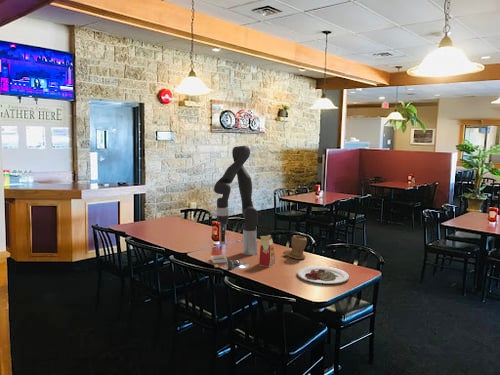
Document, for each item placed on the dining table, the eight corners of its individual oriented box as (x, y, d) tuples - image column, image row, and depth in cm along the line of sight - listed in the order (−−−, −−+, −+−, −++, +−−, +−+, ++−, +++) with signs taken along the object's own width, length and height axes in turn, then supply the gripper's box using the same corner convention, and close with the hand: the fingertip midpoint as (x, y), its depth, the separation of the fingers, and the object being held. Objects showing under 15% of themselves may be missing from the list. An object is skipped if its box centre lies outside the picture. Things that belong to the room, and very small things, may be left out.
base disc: (245, 261, 267) (245, 259, 267) (252, 269, 252) (252, 266, 252) (212, 263, 261) (212, 261, 261) (217, 271, 246) (217, 269, 246)
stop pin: (224, 241, 264) (224, 229, 263) (226, 243, 260) (226, 230, 259) (218, 242, 263) (218, 229, 262) (220, 243, 259) (220, 231, 258)
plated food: (358, 277, 240) (359, 272, 240) (329, 290, 220) (329, 284, 219) (317, 265, 262) (317, 260, 261) (286, 276, 241) (286, 270, 241)
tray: (224, 258, 272) (224, 255, 272) (227, 263, 263) (227, 259, 263) (210, 259, 270) (210, 256, 269) (213, 264, 261) (213, 260, 260)
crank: (235, 263, 260) (235, 255, 259) (241, 264, 258) (241, 256, 258) (225, 269, 249) (225, 260, 248) (232, 270, 247) (232, 261, 246)
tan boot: (309, 258, 276) (310, 236, 274) (297, 261, 269) (297, 239, 267) (294, 253, 288) (295, 232, 286) (281, 255, 281) (282, 234, 279)
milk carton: (275, 264, 263) (276, 233, 260) (270, 268, 254) (270, 236, 252) (262, 262, 267) (263, 232, 264) (256, 266, 258) (257, 235, 256)
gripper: (215, 212, 266) (216, 237, 268) (217, 216, 252) (217, 243, 254) (227, 211, 267) (227, 237, 269) (229, 216, 253) (229, 243, 255)
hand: (222, 240), depth 262 cm, fingers closed on stop pin, 4 cm apart
